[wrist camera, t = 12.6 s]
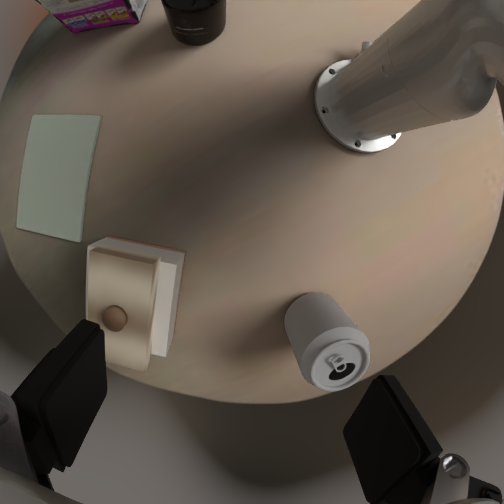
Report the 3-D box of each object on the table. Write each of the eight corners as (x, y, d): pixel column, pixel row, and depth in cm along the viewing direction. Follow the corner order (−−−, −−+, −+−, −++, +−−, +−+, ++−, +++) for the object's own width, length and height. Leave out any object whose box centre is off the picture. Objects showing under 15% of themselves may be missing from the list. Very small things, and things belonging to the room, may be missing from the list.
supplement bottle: (184, 55, 28) (165, 3, 16) (165, 20, 26) (143, -33, 15) (235, 34, 28) (238, -23, 16) (213, 1, 26) (209, -56, 15)
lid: (102, 244, 27) (84, 252, 23) (160, 256, 27) (150, 267, 23) (99, 343, 29) (86, 361, 25) (151, 357, 30) (142, 377, 26)
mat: (35, 115, 27) (32, 114, 27) (102, 116, 29) (100, 115, 28) (18, 226, 31) (16, 227, 30) (81, 241, 32) (79, 242, 32)
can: (294, 349, 38) (317, 407, 26) (273, 305, 36) (292, 358, 24) (344, 326, 37) (382, 375, 26) (327, 280, 36) (367, 321, 24)
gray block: (109, 235, 32) (87, 245, 26) (185, 251, 33) (176, 264, 28) (104, 315, 35) (86, 336, 29) (174, 332, 36) (165, 357, 30)
